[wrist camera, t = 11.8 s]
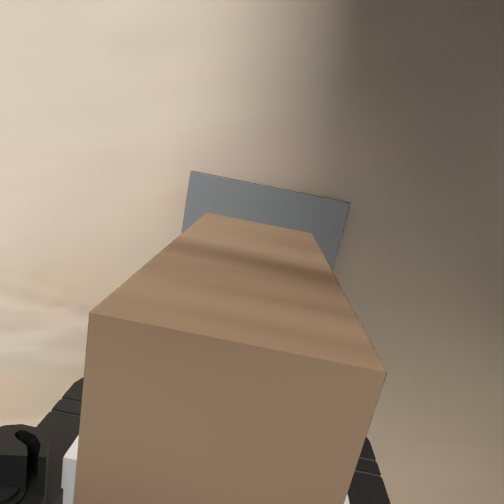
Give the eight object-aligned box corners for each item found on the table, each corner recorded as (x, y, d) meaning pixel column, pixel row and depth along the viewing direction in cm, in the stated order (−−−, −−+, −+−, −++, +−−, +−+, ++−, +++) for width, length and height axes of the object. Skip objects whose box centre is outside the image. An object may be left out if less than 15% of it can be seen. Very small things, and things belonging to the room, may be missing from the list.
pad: (192, 170, 18) (190, 171, 18) (348, 202, 18) (350, 203, 18) (158, 402, 22) (156, 406, 22) (287, 428, 22) (288, 433, 22)
